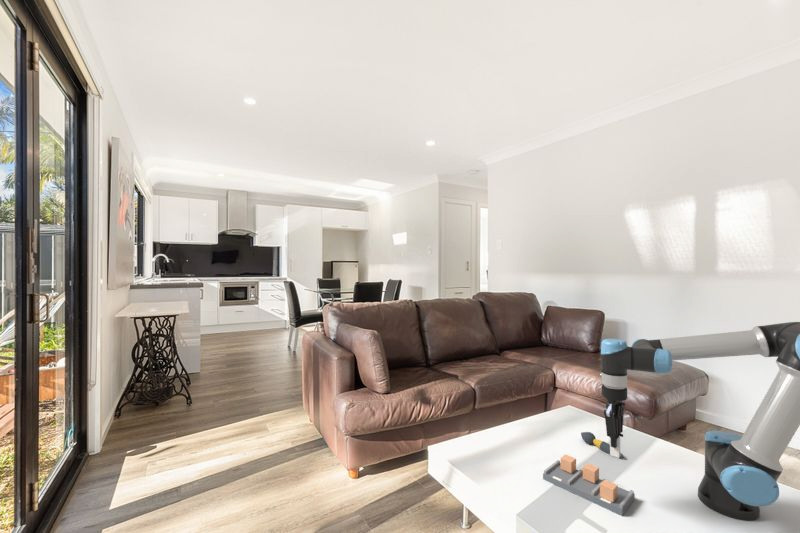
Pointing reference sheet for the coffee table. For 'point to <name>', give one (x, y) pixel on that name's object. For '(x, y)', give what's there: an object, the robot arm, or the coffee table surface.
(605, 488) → the tab
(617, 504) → the switch bank
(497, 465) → the coffee table surface
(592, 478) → the peach cube
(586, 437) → the paintbrush
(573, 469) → the tan cube
